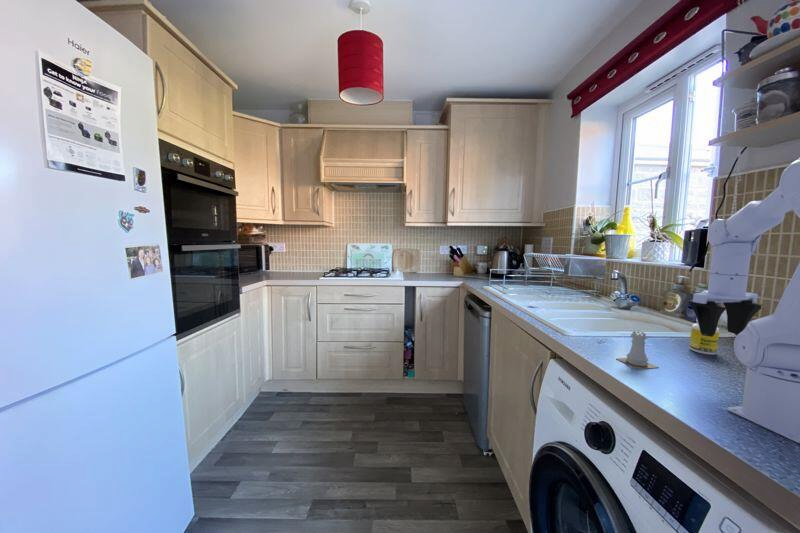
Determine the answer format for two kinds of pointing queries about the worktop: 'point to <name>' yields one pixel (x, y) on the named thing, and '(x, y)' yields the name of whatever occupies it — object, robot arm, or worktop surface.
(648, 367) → the walnut tile
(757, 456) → the worktop surface
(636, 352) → the rook chess piece
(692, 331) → the supplement bottle
